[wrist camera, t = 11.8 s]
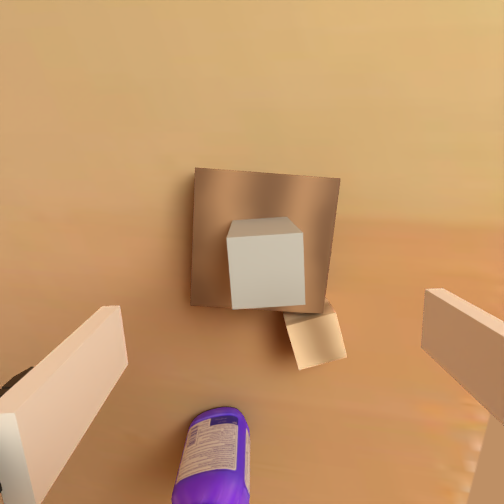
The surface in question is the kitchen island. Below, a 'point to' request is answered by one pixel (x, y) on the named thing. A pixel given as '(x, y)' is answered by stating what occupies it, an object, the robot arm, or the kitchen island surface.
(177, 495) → the bottle
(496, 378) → the robot arm
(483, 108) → the kitchen island surface
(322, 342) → the maple cube
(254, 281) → the pale gray block
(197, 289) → the walnut block
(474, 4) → the kitchen island surface
